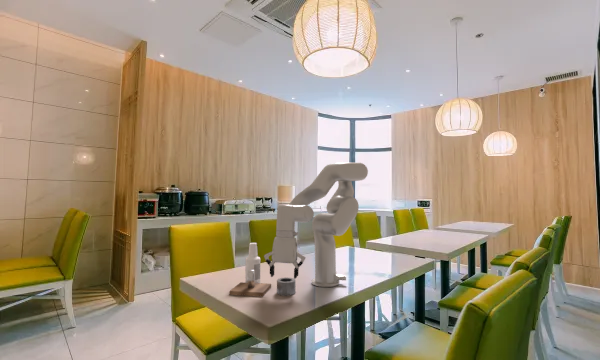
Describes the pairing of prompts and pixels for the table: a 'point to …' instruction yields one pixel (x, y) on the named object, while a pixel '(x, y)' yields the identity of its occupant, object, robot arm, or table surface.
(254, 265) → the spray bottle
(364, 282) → the table surface
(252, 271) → the steel shaft
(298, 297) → the table surface
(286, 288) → the ring
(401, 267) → the table surface
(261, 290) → the walnut base
